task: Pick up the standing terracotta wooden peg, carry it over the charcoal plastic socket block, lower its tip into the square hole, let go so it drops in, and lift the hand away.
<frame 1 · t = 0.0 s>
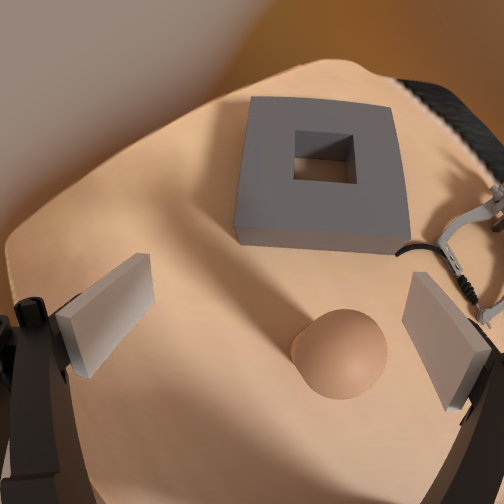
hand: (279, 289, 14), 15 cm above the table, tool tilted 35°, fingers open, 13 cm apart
bike brake: (479, 262, 29), on the table
peg: (313, 350, 28), on the table
socket block: (320, 181, 33), on the table
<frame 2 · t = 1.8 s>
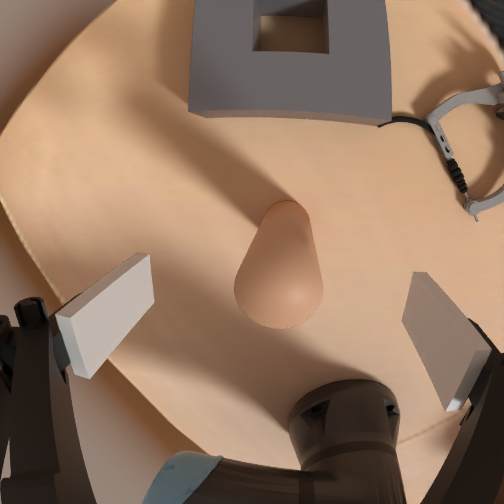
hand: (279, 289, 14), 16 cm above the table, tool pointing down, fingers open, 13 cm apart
bike brake: (476, 146, 24), on the table
peg: (286, 223, 29), on the table
plant pot: (500, 445, 37), on the table
socket block: (291, 40, 24), on the table
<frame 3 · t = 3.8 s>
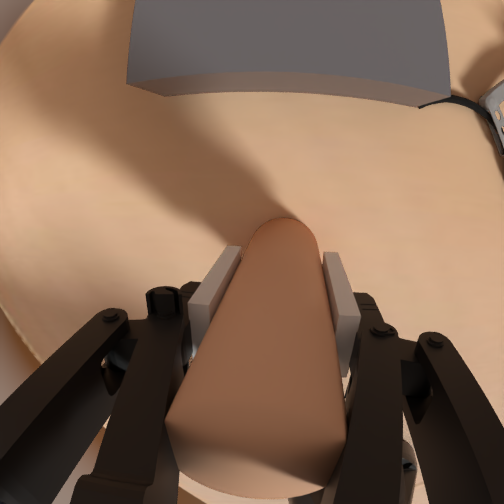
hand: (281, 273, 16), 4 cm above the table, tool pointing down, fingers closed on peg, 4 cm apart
peg: (283, 251, 20), on the table, touching gripper
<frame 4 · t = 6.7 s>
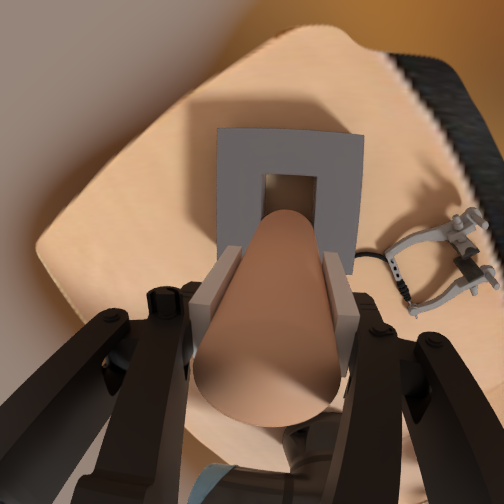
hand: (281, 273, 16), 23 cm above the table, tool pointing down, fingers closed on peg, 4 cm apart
bike brake: (425, 265, 39), on the table
peg: (285, 239, 23), point 17 cm above the table, touching gripper
socket block: (289, 196, 38), on the table
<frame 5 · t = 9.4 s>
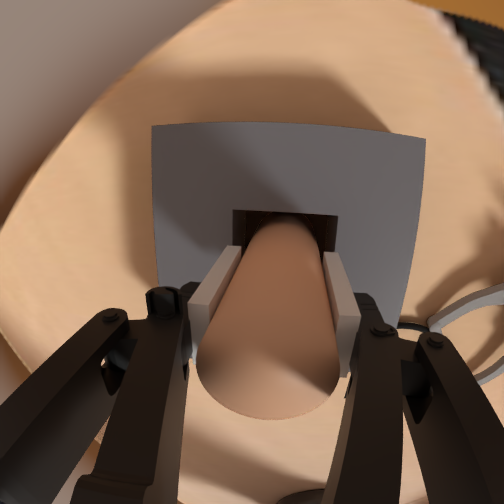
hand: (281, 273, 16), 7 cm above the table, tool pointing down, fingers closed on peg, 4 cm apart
bike brake: (476, 330, 23), on the table, touching socket block
peg: (285, 237, 23), resting in socket block, touching gripper
socket block: (285, 239, 23), on the table
when the fingers open (7 cm above the table, at t = 9.6 s): peg stays where it is, resting in socket block.
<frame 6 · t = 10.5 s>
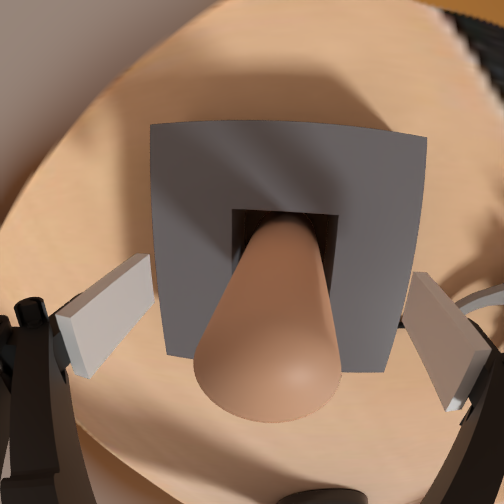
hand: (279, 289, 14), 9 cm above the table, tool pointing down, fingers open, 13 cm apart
bike brake: (477, 331, 23), on the table
peg: (285, 236, 23), resting in socket block
socket block: (285, 238, 23), on the table
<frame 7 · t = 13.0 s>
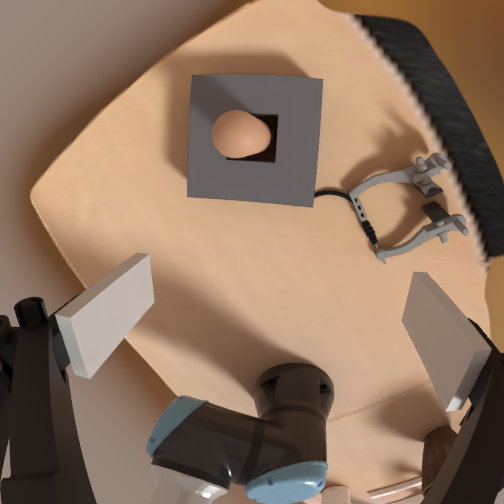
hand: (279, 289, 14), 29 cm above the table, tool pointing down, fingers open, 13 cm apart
white piece: (402, 492, 68), on the table
bike brake: (392, 209, 41), on the table
peg: (257, 136, 40), resting in socket block
mug: (333, 488, 68), on the table
plant pot: (438, 433, 56), on the table
socket block: (257, 137, 40), on the table
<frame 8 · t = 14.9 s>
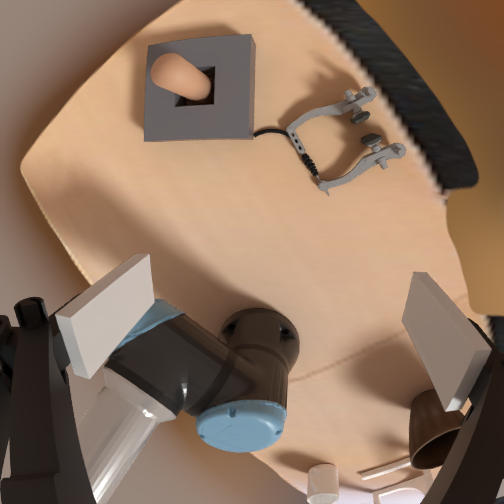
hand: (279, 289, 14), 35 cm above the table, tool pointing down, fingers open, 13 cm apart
white piece: (397, 474, 68), on the table
bike brake: (331, 144, 44), on the table
peg: (204, 91, 43), resting in socket block
mug: (320, 467, 69), on the table
plant pot: (425, 399, 57), on the table
socket block: (204, 91, 44), on the table
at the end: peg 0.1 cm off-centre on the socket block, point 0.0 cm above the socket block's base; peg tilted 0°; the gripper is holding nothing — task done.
